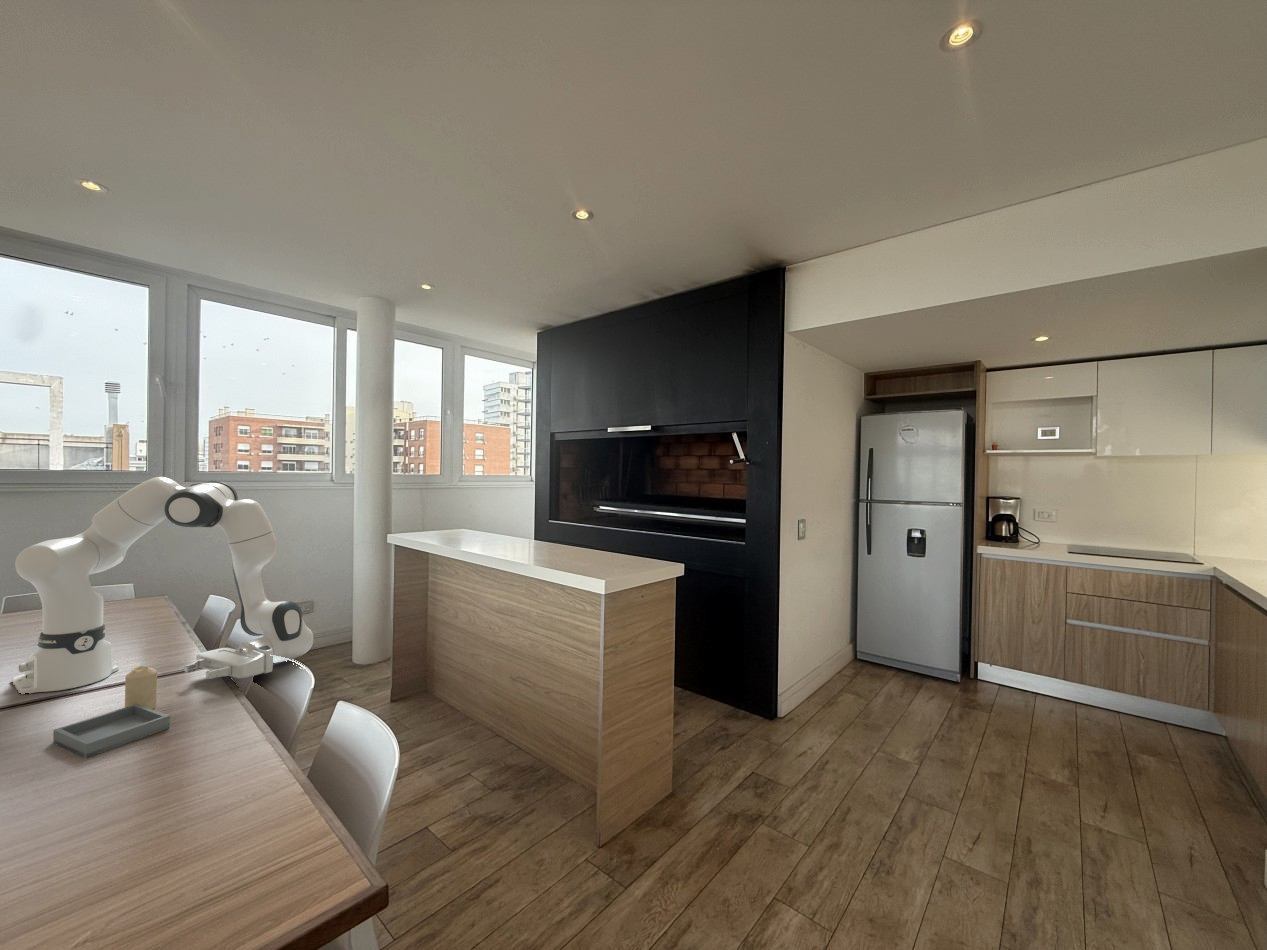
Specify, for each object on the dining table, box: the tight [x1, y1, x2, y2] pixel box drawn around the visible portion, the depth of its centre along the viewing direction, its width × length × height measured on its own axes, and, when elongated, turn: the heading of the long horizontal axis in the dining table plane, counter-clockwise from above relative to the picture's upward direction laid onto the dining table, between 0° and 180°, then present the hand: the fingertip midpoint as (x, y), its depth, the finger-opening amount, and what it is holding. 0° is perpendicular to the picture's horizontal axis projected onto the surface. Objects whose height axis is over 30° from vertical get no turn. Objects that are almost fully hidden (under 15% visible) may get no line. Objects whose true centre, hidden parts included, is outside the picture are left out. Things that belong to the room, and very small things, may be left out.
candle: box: [124, 665, 158, 710], centre depth 123 cm, size 6×6×10 cm
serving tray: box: [52, 704, 171, 759], centre depth 111 cm, size 14×14×3 cm
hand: (196, 672), depth 134 cm, fingers open, 8 cm apart
